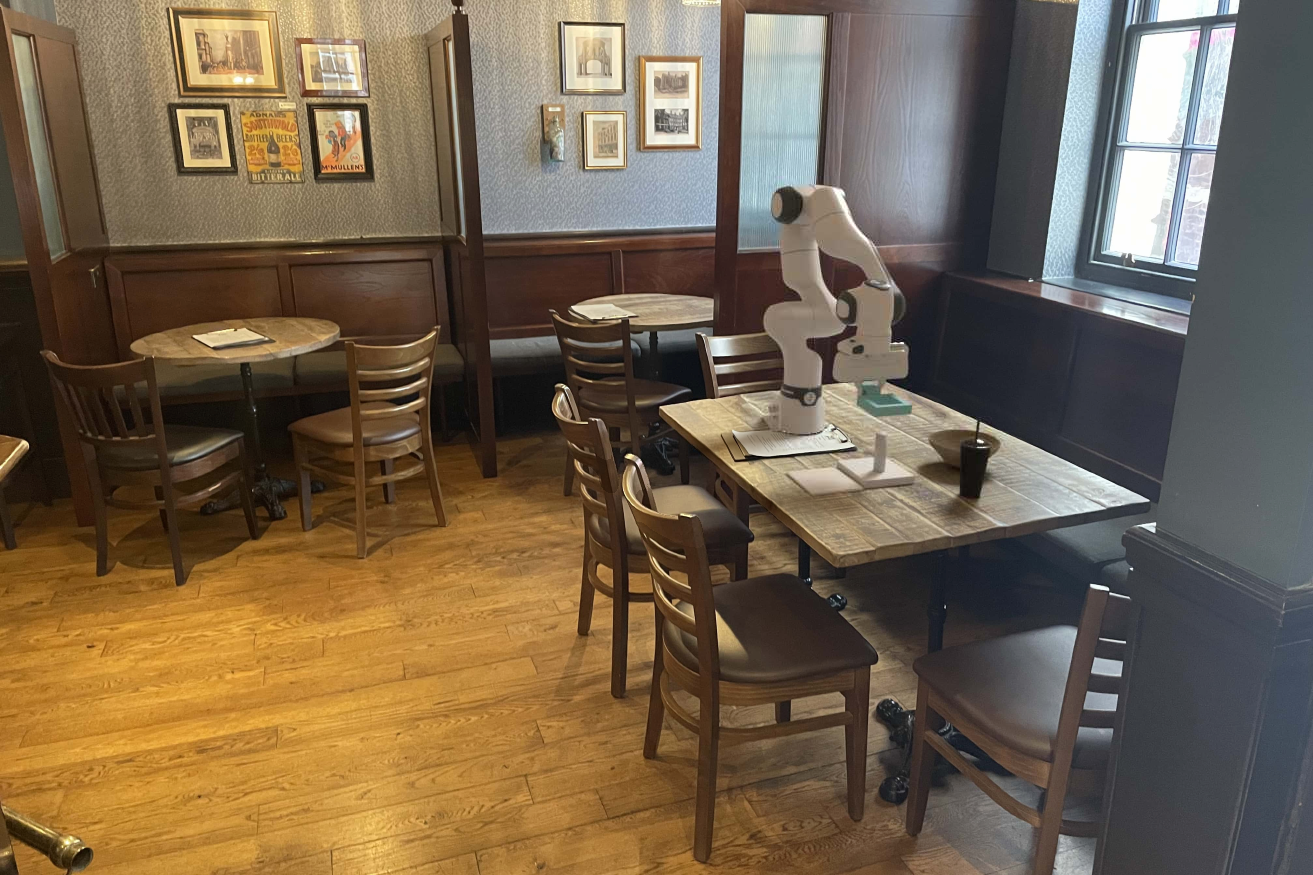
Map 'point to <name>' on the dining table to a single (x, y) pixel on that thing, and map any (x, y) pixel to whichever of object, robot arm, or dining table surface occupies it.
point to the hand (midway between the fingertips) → (868, 396)
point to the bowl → (957, 444)
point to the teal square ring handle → (882, 402)
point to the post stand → (876, 468)
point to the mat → (824, 481)
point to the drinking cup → (973, 464)
